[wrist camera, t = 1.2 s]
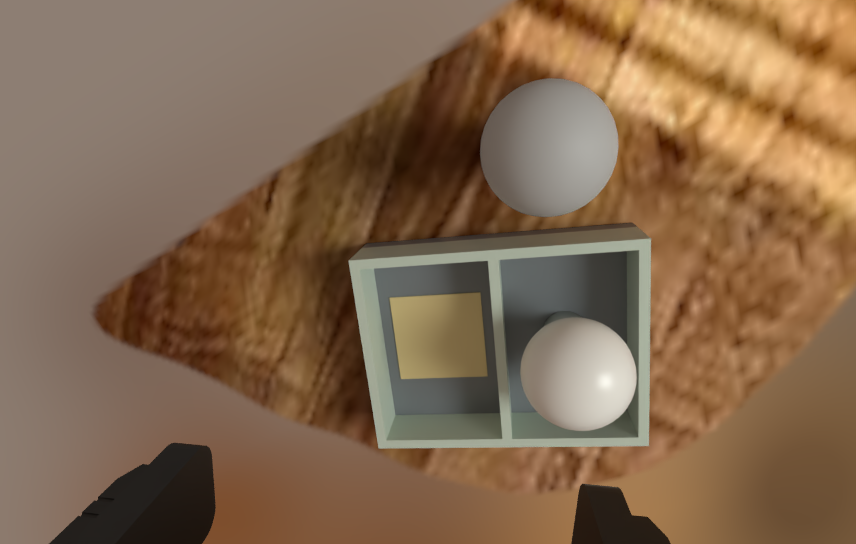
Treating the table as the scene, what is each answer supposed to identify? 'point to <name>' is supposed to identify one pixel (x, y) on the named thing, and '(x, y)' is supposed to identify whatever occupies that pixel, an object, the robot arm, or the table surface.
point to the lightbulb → (549, 147)
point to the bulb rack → (508, 338)
